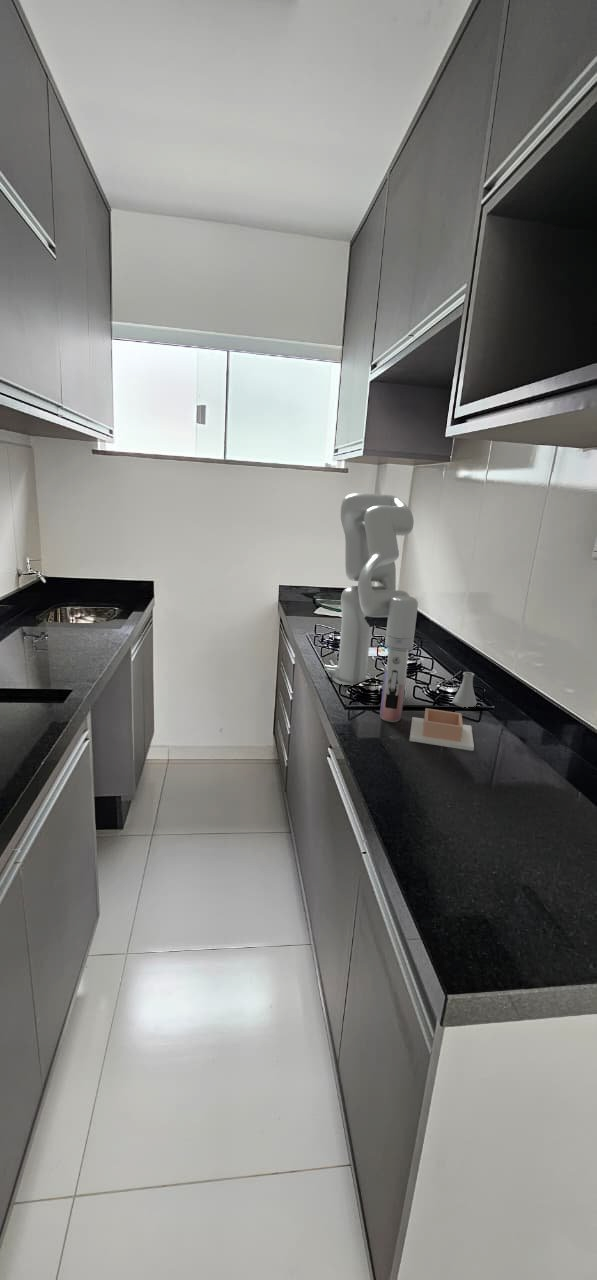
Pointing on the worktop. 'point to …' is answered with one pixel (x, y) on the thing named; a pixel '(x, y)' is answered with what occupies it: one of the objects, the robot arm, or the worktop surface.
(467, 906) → the worktop surface
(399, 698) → the beverage can
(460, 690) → the flask
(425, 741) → the socket plate
